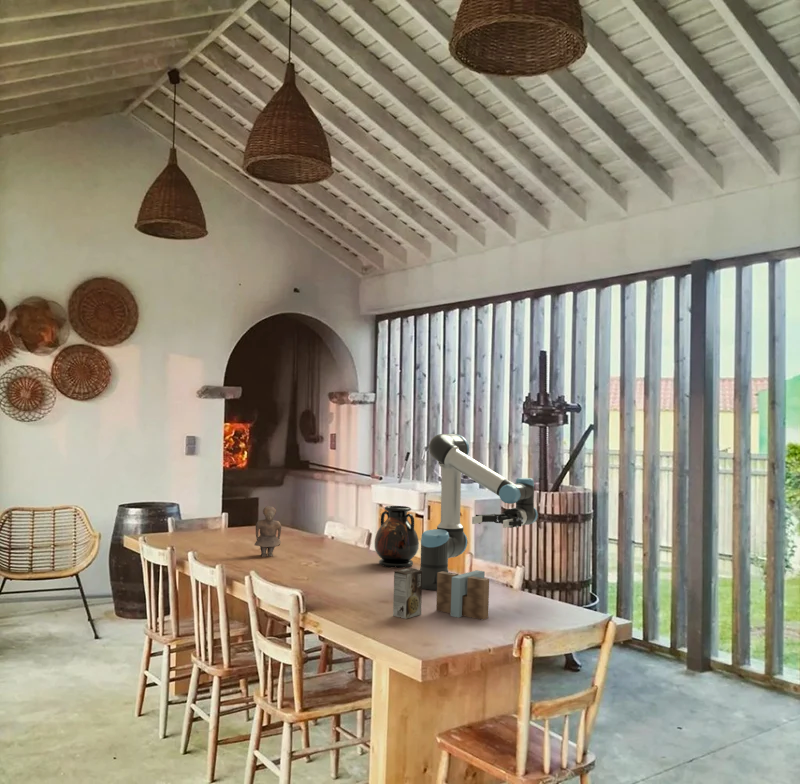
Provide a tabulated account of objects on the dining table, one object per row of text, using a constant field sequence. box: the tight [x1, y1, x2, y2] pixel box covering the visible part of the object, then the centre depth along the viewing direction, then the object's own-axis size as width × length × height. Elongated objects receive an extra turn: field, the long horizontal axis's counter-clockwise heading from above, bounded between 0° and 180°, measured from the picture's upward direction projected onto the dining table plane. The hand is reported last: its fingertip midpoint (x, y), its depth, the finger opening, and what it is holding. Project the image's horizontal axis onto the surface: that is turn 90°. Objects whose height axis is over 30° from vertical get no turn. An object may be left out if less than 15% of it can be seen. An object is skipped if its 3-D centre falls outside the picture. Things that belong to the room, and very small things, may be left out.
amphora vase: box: [374, 505, 420, 569], centre depth 383 cm, size 22×22×28 cm
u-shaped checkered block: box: [436, 571, 490, 621], centre depth 290 cm, size 20×4×14 cm, turn 54°
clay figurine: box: [254, 505, 282, 558], centre depth 396 cm, size 13×10×25 cm
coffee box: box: [392, 567, 423, 620], centre depth 286 cm, size 9×6×16 cm
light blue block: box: [450, 569, 486, 619], centre depth 294 cm, size 4×18×14 cm, turn 145°
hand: (488, 522), depth 306 cm, fingers open, 13 cm apart
